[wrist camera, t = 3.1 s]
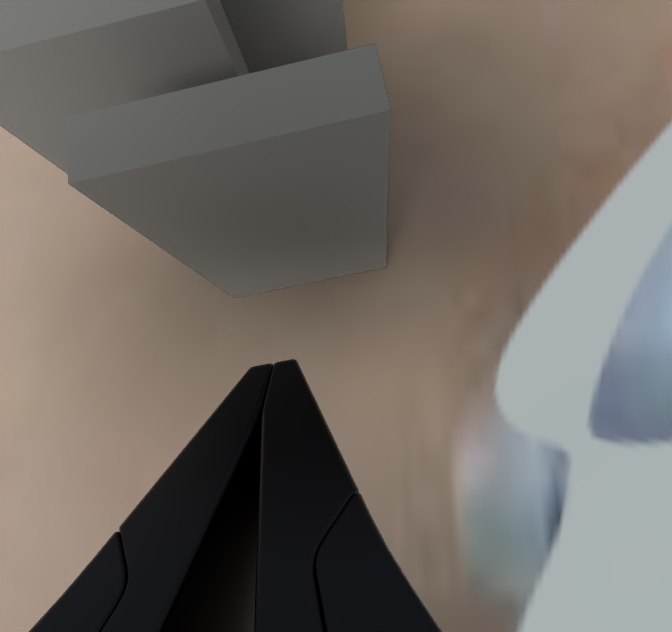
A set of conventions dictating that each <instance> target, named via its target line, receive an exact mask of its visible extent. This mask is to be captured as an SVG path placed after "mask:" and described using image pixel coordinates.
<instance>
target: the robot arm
mask: <svg viewBox="0 0 672 632" xmlns="http://www.w3.org/2000/svg"><path fill="white" fill-rule="evenodd" d="M119 531H120V532H115V533H114V534H113V535H112V536H111V538H110V539H109V540H108V541H107V543H106V544H105V545H104V546H103V547H102V549H101V550H100V551H99V552H98V554H97V555H96V556H95V557H94V558H93V560H92V561H91V562H90V563H89V564H88V565H87V567H86V568H85V569H84V570H83V571H82V572H81V574H80V575H79V576H78V577H77V578H76V579H75V581H74V582H73V583H72V584H71V585H70V587H69V588H68V589H67V590H66V591H65V592H64V594H63V595H62V596H61V597H60V598H59V599H58V600H57V601H56V602H55V604H54V605H53V606H52V607H51V608H50V609H49V610H48V611H47V612H46V613H45V615H44V616H43V617H42V618H41V619H40V620H39V621H38V622H37V623H36V624H35V626H34V627H33V628H32V629H31V630H30V631H29V632H442V631H441V630H440V628H439V627H438V625H437V624H436V622H435V621H434V619H433V618H432V616H431V615H430V613H429V612H428V610H427V609H426V607H425V606H424V604H423V603H422V601H421V600H420V598H419V597H418V595H417V594H416V592H415V591H414V589H413V588H412V586H411V584H410V583H409V581H408V580H407V578H406V576H405V575H404V573H403V572H402V570H401V568H400V567H399V565H398V563H397V562H396V560H395V559H394V557H393V555H392V554H391V552H390V551H389V549H388V547H387V545H386V543H385V541H384V539H383V538H382V536H381V534H380V532H379V530H378V528H377V526H376V524H375V522H374V520H373V519H372V517H371V515H370V513H369V510H368V508H367V506H366V504H365V502H364V500H363V498H362V496H361V494H359V490H358V488H357V486H356V484H355V482H354V480H353V477H352V475H351V473H350V471H349V469H348V467H347V465H346V463H345V461H344V459H343V457H342V454H341V452H340V450H339V448H338V446H337V444H336V442H335V440H334V438H333V436H332V433H331V431H330V429H329V427H328V425H327V423H326V421H325V419H324V417H323V415H322V412H321V410H320V408H319V406H318V404H317V402H316V400H315V398H314V396H313V394H312V392H311V389H310V387H309V385H308V383H307V381H306V379H305V377H304V375H303V373H302V371H301V368H300V366H299V364H298V362H297V361H296V360H295V359H291V360H286V361H281V362H277V363H275V364H274V365H273V364H264V365H259V366H254V367H251V368H250V369H249V370H248V371H247V372H246V374H245V375H244V376H243V377H242V378H241V380H240V381H239V382H238V383H237V385H236V386H235V387H234V388H233V389H232V391H231V392H230V393H229V394H228V396H227V397H226V398H225V399H224V400H223V402H222V403H221V404H220V405H219V406H218V408H217V409H216V410H215V411H214V413H213V414H212V415H211V416H210V417H209V419H208V420H207V421H206V422H205V424H204V425H203V426H202V427H201V428H200V430H199V431H198V432H197V433H196V434H195V436H194V437H193V438H192V439H191V441H190V442H189V443H188V444H187V445H186V447H185V448H184V449H183V450H182V452H181V453H180V454H179V455H178V456H177V458H176V459H175V460H174V461H173V462H172V464H171V465H170V466H169V467H168V469H167V470H166V471H165V472H164V473H163V475H162V476H161V477H160V478H159V480H158V481H157V482H156V483H155V484H154V486H153V487H152V488H151V489H150V491H149V492H148V493H147V494H146V495H145V497H144V498H143V499H142V500H141V501H140V503H139V504H138V505H137V506H136V508H135V509H134V510H133V511H132V512H131V514H130V515H129V516H128V517H127V519H126V520H125V521H124V522H123V523H122V525H121V526H120V528H119Z"/></svg>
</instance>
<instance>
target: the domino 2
mask: <svg viewBox="0 0 672 632" xmlns="http://www.w3.org/2000/svg"><path fill="white" fill-rule="evenodd" d="M220 2H221V5H222V7H223V10H224V12H225V15H226V17H227V19H228V22H229V24H230V27H231V29H232V32H233V34H234V37H235V39H236V42H237V44H238V46H239V49H240V51H241V54H242V56H243V59H244V61H245V64H246V66H247V69H248V71H249V74H250V73H254V72H258V71H263V70H267V69H271V68H275V67H279V66H283V65H288V64H292V63H296V62H300V61H304V60H308V59H312V58H317V57H321V56H325V55H329V54H333V53H337V52H342V51H346V50H347V43H346V33H345V23H344V13H343V3H342V0H220Z"/></svg>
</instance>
